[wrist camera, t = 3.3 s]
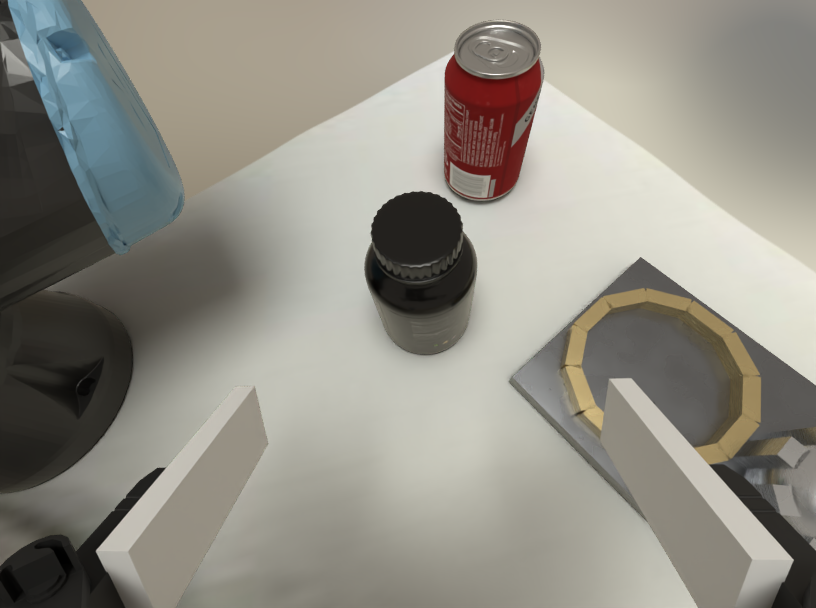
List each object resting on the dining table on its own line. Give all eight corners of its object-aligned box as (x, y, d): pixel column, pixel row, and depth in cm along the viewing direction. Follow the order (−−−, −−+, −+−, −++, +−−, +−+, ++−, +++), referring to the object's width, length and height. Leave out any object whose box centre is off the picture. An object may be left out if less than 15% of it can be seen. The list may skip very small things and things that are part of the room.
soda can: (487, 218, 34) (508, 97, 23) (429, 181, 36) (423, 54, 25) (532, 171, 36) (572, 37, 25) (474, 138, 38) (487, 2, 27)
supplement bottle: (481, 293, 31) (502, 195, 20) (449, 370, 29) (454, 307, 18) (404, 266, 33) (385, 161, 22) (368, 336, 30) (327, 259, 19)
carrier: (508, 381, 28) (521, 363, 24) (632, 266, 31) (664, 230, 26) (780, 656, 21) (874, 707, 16) (908, 474, 24) (1017, 473, 19)
